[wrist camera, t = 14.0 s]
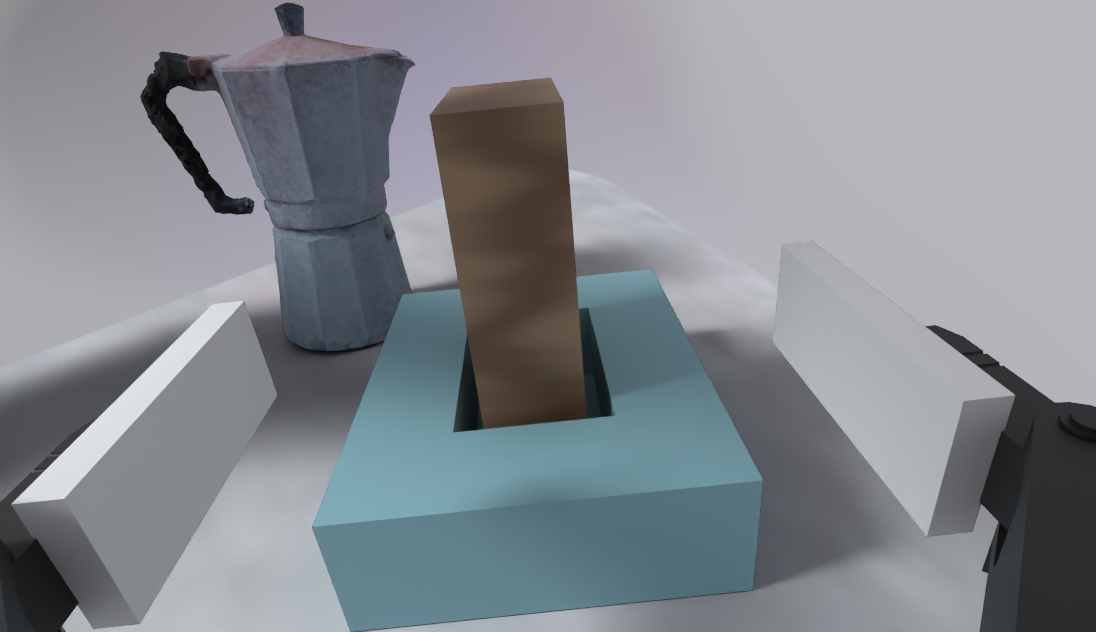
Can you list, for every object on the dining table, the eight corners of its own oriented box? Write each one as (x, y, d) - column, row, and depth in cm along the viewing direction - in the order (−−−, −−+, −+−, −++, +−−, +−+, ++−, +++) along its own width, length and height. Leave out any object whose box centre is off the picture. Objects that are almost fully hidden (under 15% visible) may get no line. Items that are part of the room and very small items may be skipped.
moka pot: (466, 334, 40) (406, -13, 30) (215, 385, 37) (65, 19, 28) (449, 280, 48) (398, -5, 39) (243, 318, 45) (135, 19, 36)
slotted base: (350, 631, 21) (311, 526, 19) (419, 369, 36) (402, 294, 34) (752, 590, 21) (763, 480, 19) (652, 345, 36) (651, 268, 34)
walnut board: (494, 493, 25) (429, 115, 18) (498, 396, 31) (451, 87, 24) (591, 483, 25) (563, 101, 18) (575, 388, 31) (550, 77, 24)
